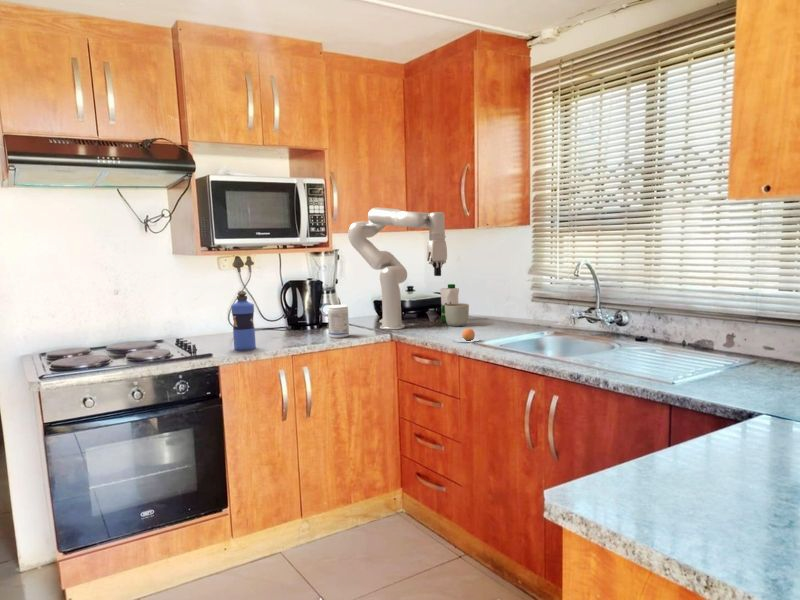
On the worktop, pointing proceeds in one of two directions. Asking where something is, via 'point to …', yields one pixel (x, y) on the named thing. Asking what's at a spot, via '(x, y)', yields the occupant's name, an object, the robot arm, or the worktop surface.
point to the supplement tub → (338, 321)
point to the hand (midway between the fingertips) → (437, 275)
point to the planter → (456, 314)
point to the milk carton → (448, 298)
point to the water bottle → (243, 323)
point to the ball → (468, 334)
